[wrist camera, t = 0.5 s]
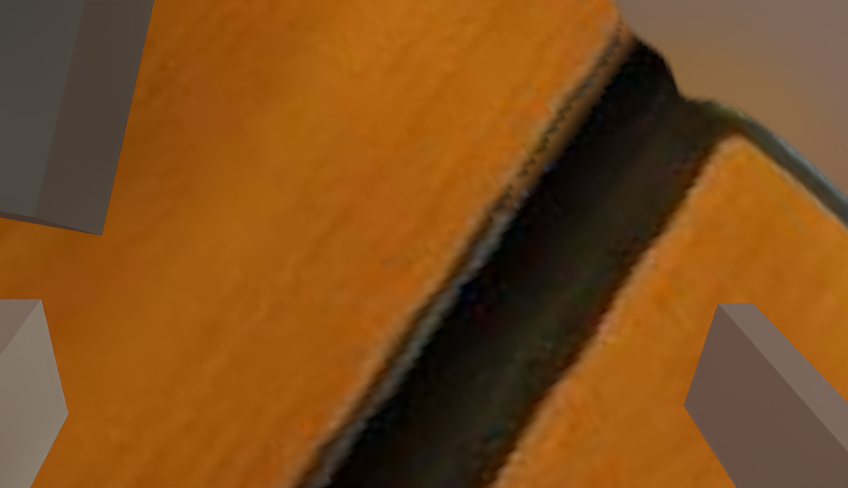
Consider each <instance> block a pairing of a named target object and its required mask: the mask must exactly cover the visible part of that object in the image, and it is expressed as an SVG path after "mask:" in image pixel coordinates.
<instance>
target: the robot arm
mask: <svg viewBox="0 0 848 488" xmlns="http://www.w3.org/2000/svg"><path fill="white" fill-rule="evenodd" d="M684 407H685V408H686V410H687V411H688V413H689V414H690V416H691V418H692V419H693V421H694V422H695V424H696V425H697V427H698V428H699V430H700V432H701V433H702V435H703V436H704V438H705V439H706V441H707V443H708V444H709V446H710V447H711V449H712V450H713V452H714V454H715V455H716V457H717V458H718V460H719V461H720V463H721V464H722V466H723V468H724V469H725V471H726V472H727V474H728V475H729V477H730V479H731V480H732V482H733V483H734V485H735V486H736V488H848V403H847V402H846V401H845V399H844V398H843V397H842V396H841V395H840V394H839V393H838V392H837V391H836V390H835V389H834V388H833V387H832V386H831V385H830V384H829V383H828V382H827V381H826V380H825V379H824V377H823V376H822V375H821V374H820V373H819V372H818V371H817V370H816V369H815V368H814V367H813V366H812V365H811V364H810V363H809V362H808V361H807V360H806V359H805V358H804V357H803V355H802V354H801V353H800V352H799V351H798V350H797V349H796V348H795V347H794V346H793V345H792V344H791V343H790V342H789V341H788V340H787V339H786V338H785V337H784V336H783V335H782V333H781V332H780V331H779V330H778V329H777V328H776V327H775V326H774V325H773V324H772V323H771V322H770V321H769V320H768V319H767V318H766V317H765V316H764V315H763V314H762V313H761V311H760V310H759V309H758V308H757V307H756V306H755V305H754V304H753V303H718V305H717V308H716V311H715V314H714V317H713V320H712V323H711V326H710V329H709V332H708V335H707V338H706V341H705V344H704V347H703V350H702V353H701V356H700V359H699V362H698V365H697V368H696V371H695V374H694V377H693V380H692V383H691V386H690V389H689V392H688V395H687V398H686V401H685V404H684ZM67 416H68V412H67V407H66V403H65V399H64V395H63V390H62V386H61V382H60V378H59V373H58V369H57V365H56V361H55V356H54V352H53V348H52V344H51V339H50V335H49V331H48V327H47V322H46V318H45V314H44V310H43V305H42V301H41V299H0V488H30V487H31V485H32V483H33V481H34V479H35V477H36V475H37V473H38V471H39V469H40V467H41V465H42V464H43V462H44V460H45V458H46V456H47V454H48V452H49V450H50V448H51V446H52V444H53V442H54V441H55V439H56V437H57V435H58V433H59V431H60V429H61V427H62V425H63V423H64V421H65V419H66V417H67Z"/></svg>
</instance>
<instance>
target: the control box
mask: <svg viewBox="0 0 848 488" xmlns="http://www.w3.org/2000/svg"><path fill="white" fill-rule="evenodd" d="M153 2H154V0H0V217H2V218H7V219H13V220H18V221H24V222H29V223H35V224H41V225H46V226H52V227H57V228H63V229H69V230H74V231H80V232H85V233H91V234H96V235H102V231H103V226H104V222H105V217H106V213H107V208H108V204H109V199H110V195H111V190H112V186H113V181H114V177H115V172H116V168H117V163H118V159H119V155H120V150H121V146H122V141H123V137H124V132H125V128H126V123H127V119H128V114H129V110H130V105H131V101H132V96H133V92H134V87H135V83H136V78H137V74H138V69H139V65H140V60H141V56H142V51H143V47H144V42H145V38H146V33H147V29H148V25H149V20H150V16H151V11H152V7H153Z"/></svg>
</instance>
